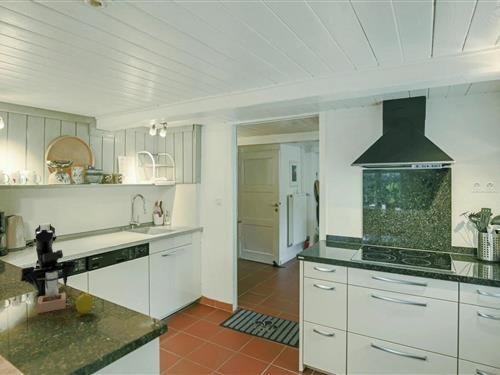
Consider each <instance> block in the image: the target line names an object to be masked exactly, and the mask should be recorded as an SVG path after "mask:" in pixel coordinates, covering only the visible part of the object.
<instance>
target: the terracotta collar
mask: <svg viewBox="0 0 500 375" xmlns="http://www.w3.org/2000/svg"><path fill="white" fill-rule="evenodd" d="M58 294H59V299H58V300H52V301H47V302H46V295H42V296H38V298H37V299H38V300H37V303H36V306H37V307H36V310H37V312H36V313H37V314H43V313H47V312H53V311H57V310H64V309H66V308H67V305H66V304H67V300H66V299H67V297H66V292H60V293H58Z"/></svg>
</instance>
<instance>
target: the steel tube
mask: <svg viewBox="0 0 500 375" xmlns="http://www.w3.org/2000/svg"><path fill="white" fill-rule="evenodd" d="M45 289H46V295H45V296H46V302H47V301H52V300H58V299H59V294H60V293H59V271H49V272H46V273H45Z"/></svg>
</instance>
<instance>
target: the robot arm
mask: <svg viewBox="0 0 500 375" xmlns="http://www.w3.org/2000/svg"><path fill="white" fill-rule="evenodd" d="M34 231H35V232H34V236H33V243H34V244H35V246H36V247H35V250H36V255H37V261H36V264H35V267H34V266H29V267H23V268H21V270H20V281H21V282H25V283H29V285H31V286H32V287H34V289H35V290H36V291H37V292H36V296H35V297H41V296H46V289H45V273H46V272H49V271H58V272H59V271H62V279H63V285H64V286H67V283H68V276H69V275H70V274H71V273H73V272H74V269H75V268H76V261H75V260H73V259H72V260H65V261H63V264H61V265H57V264H59V262H58V260H59V259H62V258H63V257H64V254H63V250H62V249H60V250H59V249H58V250H56V251H54V250H53V244H54V242H55V241H56V240H57V235H56V228H55V227H53V226H52V223H51V222H50V223H49V222H46V223H39V224H38V227H37V228H36V229H35V230H34Z"/></svg>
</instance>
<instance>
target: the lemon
mask: <svg viewBox="0 0 500 375" xmlns="http://www.w3.org/2000/svg"><path fill="white" fill-rule="evenodd" d="M93 303H94V302H93V298H92V296H91V295H90V294H88V293H85V292H83V293H82V294H81V295H79V296H78V297H77V298H76V302H75V307H76V310H77V312H78V313H79V314H83V315H86V314H87V313H88V312H90V310H92V308H93Z"/></svg>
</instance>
